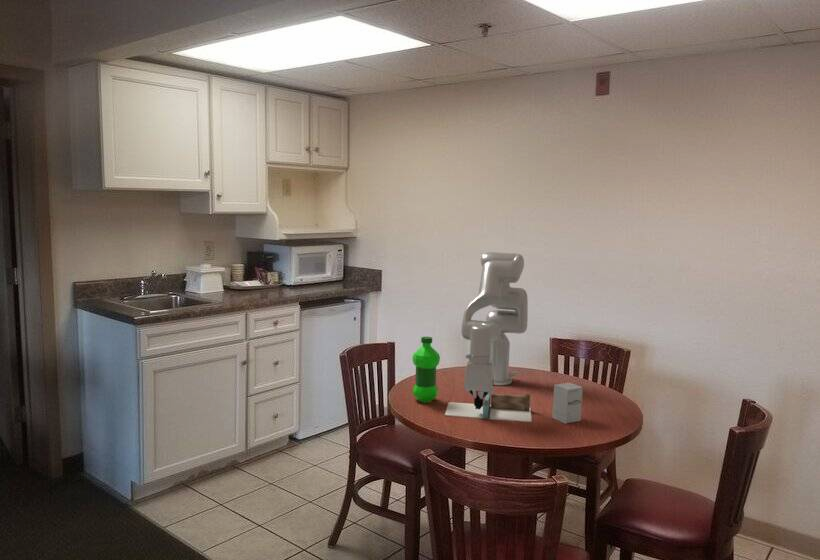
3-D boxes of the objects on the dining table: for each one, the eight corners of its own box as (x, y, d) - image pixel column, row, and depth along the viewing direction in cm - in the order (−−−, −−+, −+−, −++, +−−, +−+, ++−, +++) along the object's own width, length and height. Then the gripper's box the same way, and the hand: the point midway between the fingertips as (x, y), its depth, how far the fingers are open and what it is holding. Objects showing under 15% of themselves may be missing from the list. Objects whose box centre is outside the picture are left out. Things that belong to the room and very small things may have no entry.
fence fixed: (529, 409, 230) (530, 394, 230) (529, 411, 228) (530, 395, 228) (490, 406, 233) (491, 391, 232) (490, 408, 231) (491, 392, 230)
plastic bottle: (406, 399, 241) (408, 336, 238) (427, 394, 247) (429, 333, 244) (422, 406, 233) (424, 341, 230) (443, 401, 239) (445, 338, 237)
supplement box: (565, 424, 216) (567, 389, 215) (551, 417, 223) (553, 384, 222) (581, 421, 220) (583, 387, 218) (567, 415, 226) (569, 381, 225)
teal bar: (485, 405, 233) (485, 393, 232) (490, 405, 233) (490, 393, 232) (482, 418, 219) (482, 405, 218) (487, 418, 218) (488, 405, 218)
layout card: (530, 408, 232) (530, 407, 232) (531, 423, 217) (531, 421, 217) (449, 403, 237) (449, 401, 237) (444, 416, 222) (444, 415, 222)
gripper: (457, 359, 221) (455, 408, 223) (498, 363, 216) (496, 414, 218) (462, 354, 228) (461, 402, 230) (502, 358, 223) (500, 407, 225)
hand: (478, 408), depth 224 cm, fingers closed
